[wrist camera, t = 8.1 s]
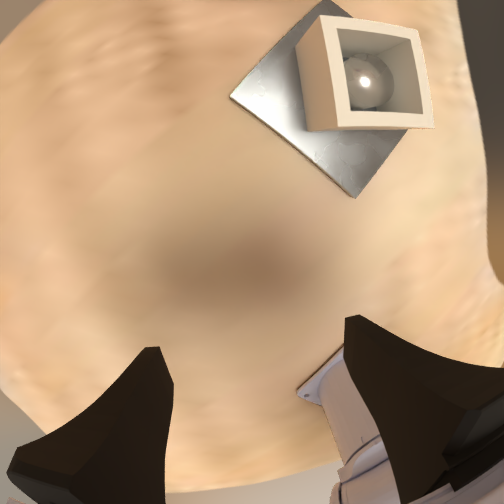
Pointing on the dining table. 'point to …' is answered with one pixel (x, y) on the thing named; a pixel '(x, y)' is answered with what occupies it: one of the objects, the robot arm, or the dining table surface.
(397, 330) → the dining table surface
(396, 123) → the collar
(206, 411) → the dining table surface
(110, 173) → the dining table surface
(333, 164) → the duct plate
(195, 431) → the dining table surface
